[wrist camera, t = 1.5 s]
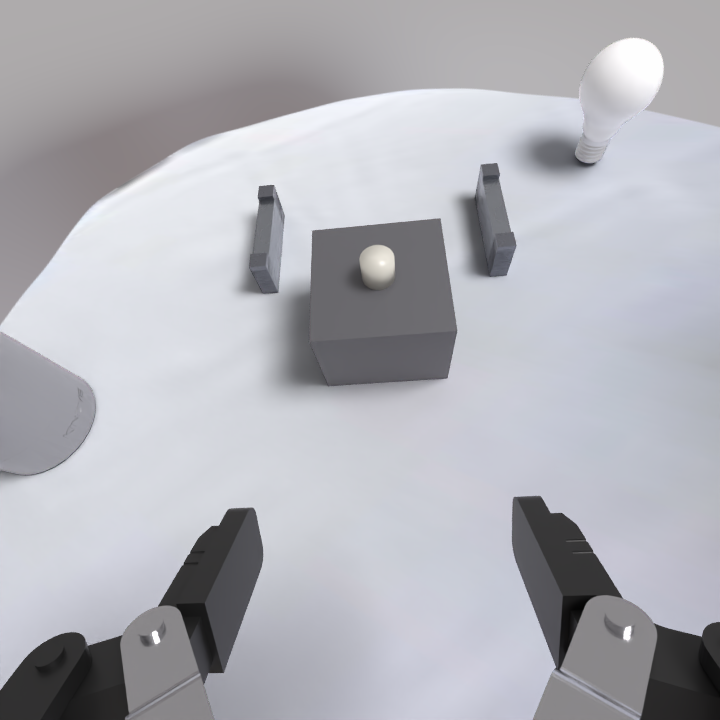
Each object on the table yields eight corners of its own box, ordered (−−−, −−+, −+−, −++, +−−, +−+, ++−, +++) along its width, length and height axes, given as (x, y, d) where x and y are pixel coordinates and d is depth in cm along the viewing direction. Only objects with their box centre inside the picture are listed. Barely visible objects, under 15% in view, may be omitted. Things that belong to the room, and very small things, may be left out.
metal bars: (263, 293, 41) (249, 267, 37) (270, 216, 45) (259, 186, 42) (506, 275, 39) (516, 245, 35) (489, 196, 43) (497, 163, 40)
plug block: (328, 386, 36) (302, 327, 27) (329, 290, 40) (306, 211, 32) (447, 378, 35) (460, 314, 26) (434, 281, 40) (442, 198, 31)
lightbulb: (625, 179, 43) (691, 62, 33) (560, 183, 43) (604, 70, 33) (611, 136, 45) (667, 18, 36) (549, 141, 46) (587, 25, 36)
